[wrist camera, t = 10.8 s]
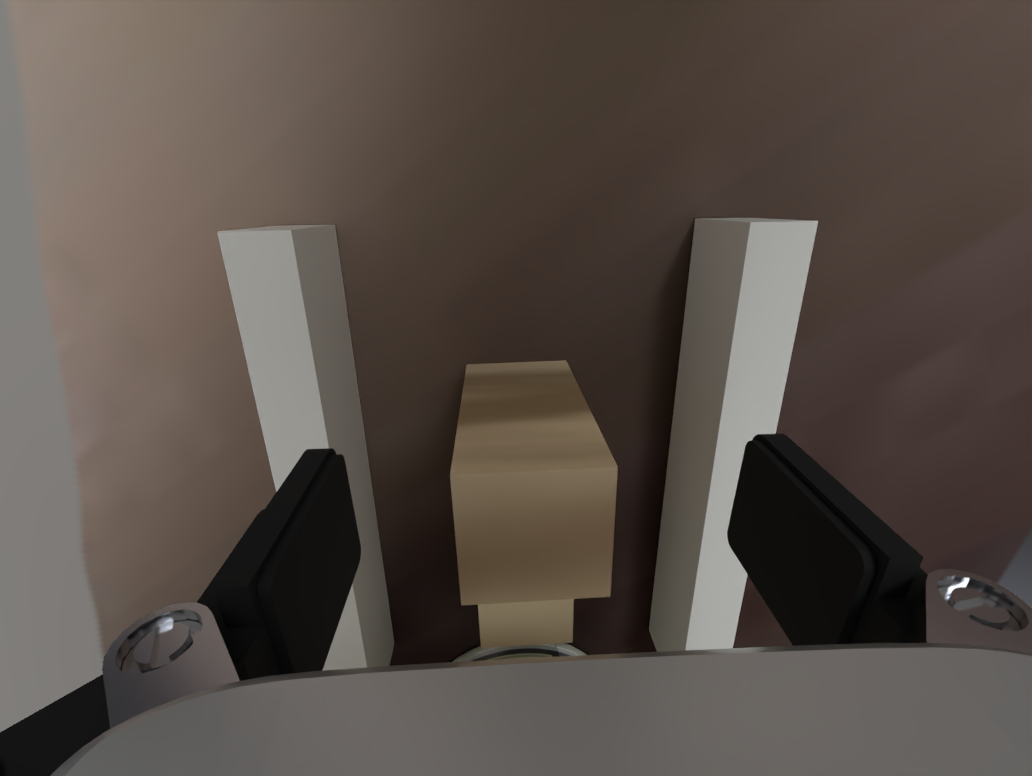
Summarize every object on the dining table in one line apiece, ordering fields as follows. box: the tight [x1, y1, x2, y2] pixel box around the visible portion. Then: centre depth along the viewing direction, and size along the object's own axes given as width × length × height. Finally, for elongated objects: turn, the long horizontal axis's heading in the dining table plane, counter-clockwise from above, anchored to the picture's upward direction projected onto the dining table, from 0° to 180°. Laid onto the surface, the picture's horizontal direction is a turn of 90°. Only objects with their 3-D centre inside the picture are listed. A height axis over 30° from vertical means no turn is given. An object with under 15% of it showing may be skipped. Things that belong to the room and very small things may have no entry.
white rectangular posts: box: [217, 218, 818, 671], centre depth 19 cm, size 20×17×4 cm
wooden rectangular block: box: [450, 360, 618, 648], centre depth 17 cm, size 12×4×8 cm, turn 1°
